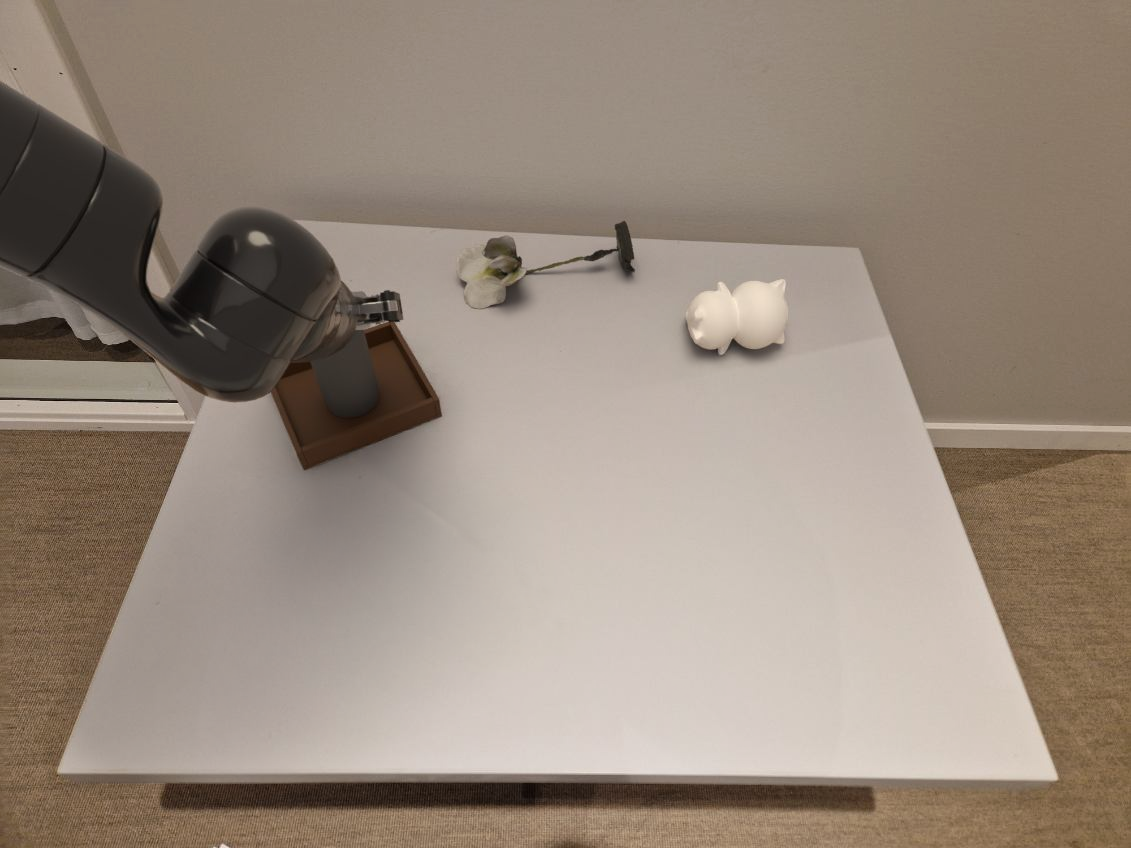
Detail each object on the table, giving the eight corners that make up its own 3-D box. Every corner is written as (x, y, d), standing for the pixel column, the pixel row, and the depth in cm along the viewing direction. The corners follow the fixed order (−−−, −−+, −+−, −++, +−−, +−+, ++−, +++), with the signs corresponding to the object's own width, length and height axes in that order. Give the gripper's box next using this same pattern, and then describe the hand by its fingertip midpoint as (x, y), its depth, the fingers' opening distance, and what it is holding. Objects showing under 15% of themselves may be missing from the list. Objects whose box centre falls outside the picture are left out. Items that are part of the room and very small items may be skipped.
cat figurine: (696, 291, 79) (802, 279, 80) (669, 276, 89) (763, 265, 90) (698, 369, 82) (799, 355, 83) (671, 346, 92) (762, 334, 93)
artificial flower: (640, 296, 93) (646, 252, 84) (468, 327, 93) (454, 286, 83) (626, 239, 97) (630, 190, 87) (458, 268, 96) (444, 222, 86)
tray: (303, 470, 74) (296, 453, 72) (267, 382, 81) (259, 364, 78) (442, 416, 79) (439, 398, 77) (397, 337, 86) (393, 319, 83)
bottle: (352, 369, 82) (322, 265, 70) (391, 393, 80) (366, 291, 68) (313, 401, 79) (275, 299, 67) (352, 427, 77) (320, 327, 65)
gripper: (388, 253, 56) (399, 270, 72) (193, 272, 54) (249, 285, 70) (402, 350, 57) (410, 345, 73) (212, 372, 55) (262, 363, 71)
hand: (331, 316), depth 72 cm, fingers open, 8 cm apart
